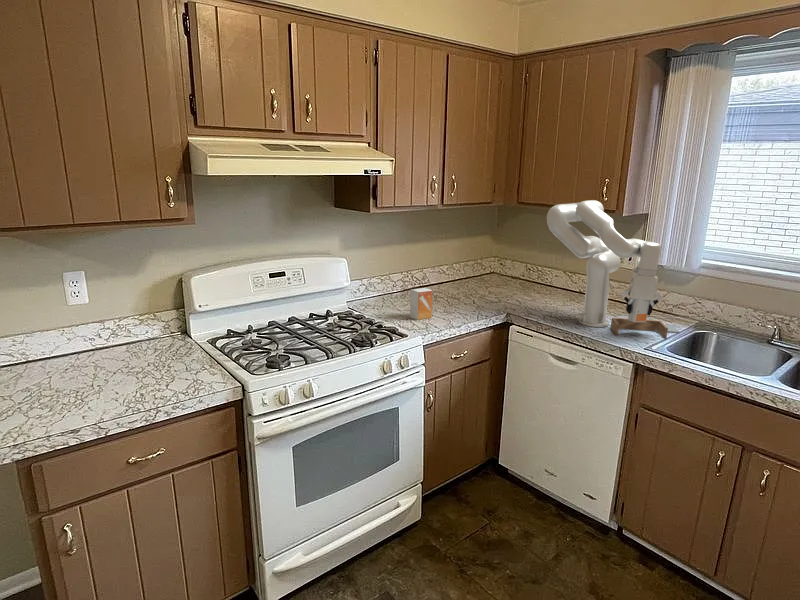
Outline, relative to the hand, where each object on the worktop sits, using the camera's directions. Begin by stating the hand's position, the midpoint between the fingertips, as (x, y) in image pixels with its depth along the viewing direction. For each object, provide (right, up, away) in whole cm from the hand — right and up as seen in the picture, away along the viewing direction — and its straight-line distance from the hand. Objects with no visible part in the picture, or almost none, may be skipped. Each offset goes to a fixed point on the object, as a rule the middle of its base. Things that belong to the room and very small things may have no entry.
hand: (638, 313), depth 218 cm
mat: (+15, -7, +9) cm, 19 cm away
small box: (-90, -3, +20) cm, 93 cm away
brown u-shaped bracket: (+1, -8, +2) cm, 9 cm away
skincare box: (0, -3, +1) cm, 4 cm away
